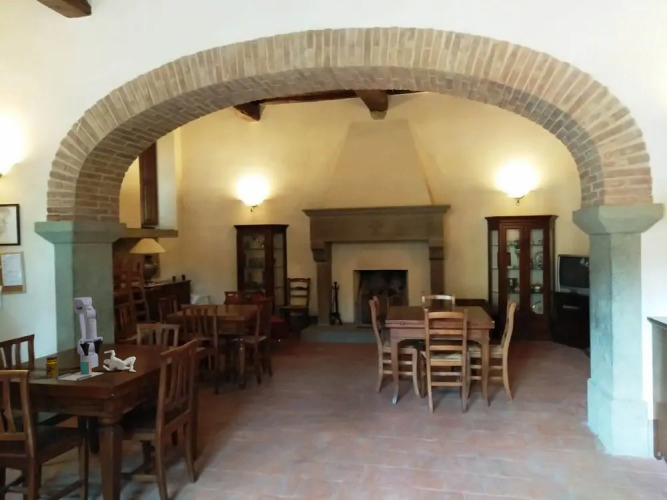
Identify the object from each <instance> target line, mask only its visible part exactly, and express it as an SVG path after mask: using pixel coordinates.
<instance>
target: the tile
mask: <svg viewBox="0 0 667 500" xmlns="http://www.w3.org/2000/svg"><path fill="white" fill-rule="evenodd" d="M79 362H80V363H79V364H80V365H79V366H80V372H81V374H92V372H93V371H92V370H93V368H92V367H91V361H81V360H80V361H79Z"/></svg>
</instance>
